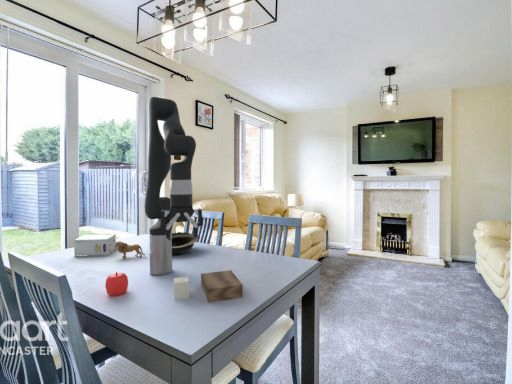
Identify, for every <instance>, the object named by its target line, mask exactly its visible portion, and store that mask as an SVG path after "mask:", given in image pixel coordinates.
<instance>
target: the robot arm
mask: <svg viewBox="0 0 512 384" xmlns="http://www.w3.org/2000/svg"><path fill="white" fill-rule="evenodd" d="M148 103H149V104H148V132H149V138H148V139H149V140H148V151H147V152H148V156H147V158H148V159H147V168H148V170H147V181H146V182H147V183H146V193H145V199H144V213H145V216H146V217H147V219H149V220H157V221H156V222H155V223H154V225H152V226H150V228H149V275H150V276H153V275H154V276H163V275H167V274H170V273H172V272H173V255H172V233H173V232H172V231H173V226H174V224H175V223H181V222H182V223H183V222H184V223H187V222H190V223H191V224H192V226H193V227H192V234H193V238H194V239H195V238H196V237H197V236H199V234H198V232H199V230H198V229H199V227H203V225H204V221H203V210H202V209H201V208H197V209H195V208H194V207H193V183H192V164H193V159H194V156H195V152H196V149H197V142H196V139H195V138H194V137H193V136H192V135H186V131H185V129H184V127H183V125H182V124H181V120H180V113H179V108H178V105H177V103H176V101H175V100H172V99H170V98H169V99H168V98H165V97H158V96H152V97H150V99H149V101H148ZM158 121H161V122H163V125H162V129H163V133H164V136H165V138H164V137H163V136H162V132H161V131H160V126H159V122H158ZM172 156H181V157H184V158H183V160H182V161H178V162H173V163H172ZM169 173H170V175H169V176H170V179H169V181H170V182H169V197H168V196H161V188H162V185H163V184H164V181H165V179H166V178H167V176H168V174H169ZM194 214H195V215H196V216H197V219H198V222H196V221H194V219H193V218H192V216H193V215H194Z"/></svg>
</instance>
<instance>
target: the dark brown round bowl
mask: <svg viewBox="0 0 512 384" xmlns="http://www.w3.org/2000/svg"><path fill="white" fill-rule="evenodd" d="M200 239H201V238H200V236H199V235H198V236H197V237H196V238H195V239H194V238H193V233H188V232H181V231H178V232H172V256H175V255H177V254H182V253H183V252H184V253H185V252H186V251H189V250H190V249H192V248H193V247H194V245H195V243H196V242H198V241H199V240H200Z"/></svg>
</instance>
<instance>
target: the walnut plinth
mask: <svg viewBox="0 0 512 384" xmlns="http://www.w3.org/2000/svg"><path fill="white" fill-rule="evenodd" d="M200 284H201V289H202V290H203V293H205V294H204V296H205V299H206V298H207V299H206V301H207V303H208V304H209V303H215V302H222V301H228V300H234V299H241V298H243V283H242V282H241V280H240V279H239V278H238V277H237V276H236V274H235V273H234V271H232V270H231V269H228V270H221V271H214V272H213V271H212V272H203V273H200Z"/></svg>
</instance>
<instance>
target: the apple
mask: <svg viewBox="0 0 512 384" xmlns="http://www.w3.org/2000/svg"><path fill="white" fill-rule="evenodd" d="M128 286H129V279H128V276H127V274H126V273H124V272H118V271H116V272H115V273H112V274H109V275H108V276H107V277H106V279H105V286H104V287H105V290H106V294H107V295H109V296H112V295H113V297H116V295H117V296H121V295H123V294H125V293H126V292H127V291H128V288H129V287H128ZM120 294H121V295H120Z"/></svg>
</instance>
